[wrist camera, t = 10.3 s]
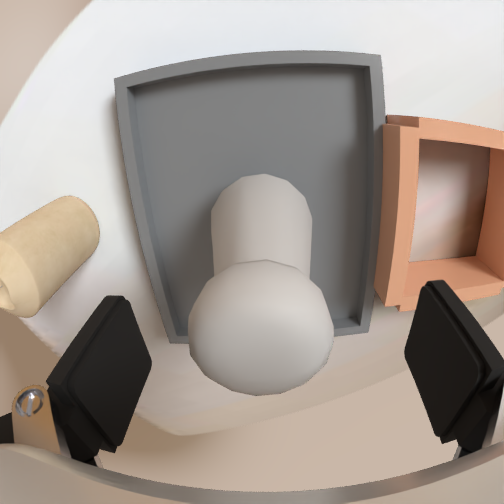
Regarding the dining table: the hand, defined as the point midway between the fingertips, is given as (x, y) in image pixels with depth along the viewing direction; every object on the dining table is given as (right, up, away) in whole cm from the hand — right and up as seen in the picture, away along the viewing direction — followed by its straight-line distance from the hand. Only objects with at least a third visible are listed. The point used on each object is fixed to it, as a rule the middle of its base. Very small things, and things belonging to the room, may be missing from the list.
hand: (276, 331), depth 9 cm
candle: (-15, +4, +12) cm, 20 cm away
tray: (0, +5, +11) cm, 12 cm away
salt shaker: (0, +5, +11) cm, 12 cm away
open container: (+14, +6, +10) cm, 18 cm away
